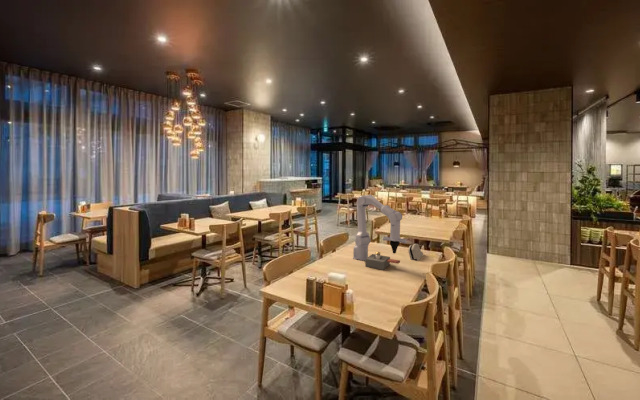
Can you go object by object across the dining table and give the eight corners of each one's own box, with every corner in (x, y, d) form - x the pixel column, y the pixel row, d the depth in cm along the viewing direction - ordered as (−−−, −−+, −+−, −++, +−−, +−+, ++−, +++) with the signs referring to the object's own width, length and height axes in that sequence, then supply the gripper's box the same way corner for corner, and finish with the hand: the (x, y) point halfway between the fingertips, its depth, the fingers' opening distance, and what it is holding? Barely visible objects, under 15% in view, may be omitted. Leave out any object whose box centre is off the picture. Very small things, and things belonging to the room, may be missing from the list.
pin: (374, 264, 196) (374, 252, 195) (376, 263, 199) (376, 251, 198) (378, 265, 195) (379, 253, 194) (380, 264, 197) (381, 252, 196)
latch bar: (387, 262, 191) (387, 260, 191) (389, 260, 194) (389, 258, 194) (398, 263, 188) (398, 262, 188) (400, 262, 191) (400, 260, 191)
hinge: (418, 260, 206) (413, 246, 206) (411, 262, 208) (406, 247, 209) (423, 254, 220) (419, 241, 220) (417, 255, 222) (413, 242, 223)
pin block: (365, 266, 195) (365, 258, 194) (372, 261, 205) (372, 254, 204) (383, 269, 189) (383, 262, 188) (389, 264, 199) (390, 256, 198)
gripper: (381, 231, 189) (381, 252, 191) (405, 234, 181) (404, 256, 183) (385, 229, 195) (384, 250, 197) (408, 231, 187) (407, 253, 189)
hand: (394, 253), depth 190 cm, fingers closed
